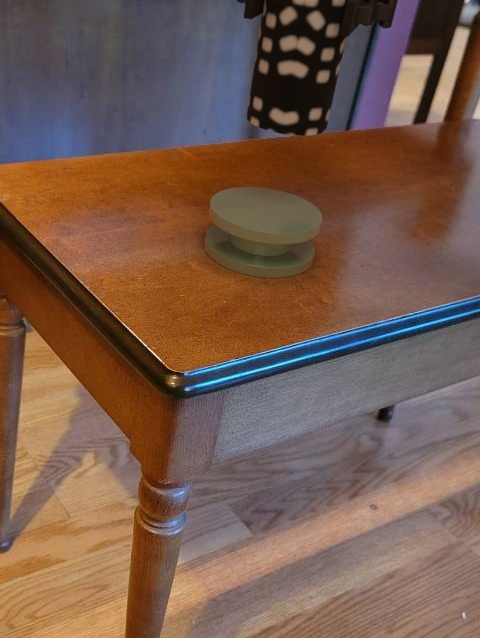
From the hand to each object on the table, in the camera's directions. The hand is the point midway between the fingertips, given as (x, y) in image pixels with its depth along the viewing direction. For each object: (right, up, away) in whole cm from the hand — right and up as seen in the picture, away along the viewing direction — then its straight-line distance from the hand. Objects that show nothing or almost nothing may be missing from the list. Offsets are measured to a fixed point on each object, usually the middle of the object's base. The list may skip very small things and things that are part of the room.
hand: (297, 10), depth 66 cm
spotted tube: (0, -6, +10) cm, 12 cm away
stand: (-2, -18, +15) cm, 24 cm away
